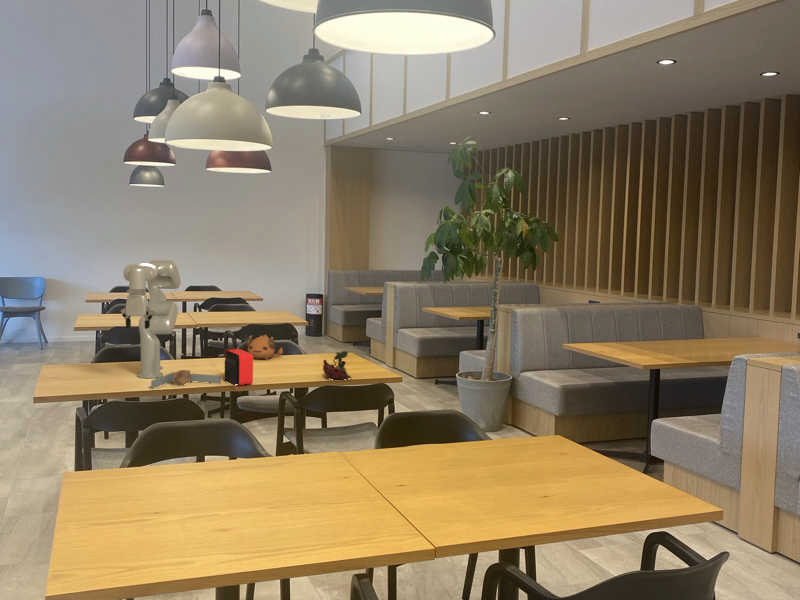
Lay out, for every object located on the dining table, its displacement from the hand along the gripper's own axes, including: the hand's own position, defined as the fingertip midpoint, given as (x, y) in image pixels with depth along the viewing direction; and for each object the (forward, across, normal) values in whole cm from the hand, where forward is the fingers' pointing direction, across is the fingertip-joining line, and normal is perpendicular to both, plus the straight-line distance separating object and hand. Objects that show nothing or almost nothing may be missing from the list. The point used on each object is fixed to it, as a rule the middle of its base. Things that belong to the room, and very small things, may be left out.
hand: (137, 327), depth 371 cm
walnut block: (+28, +19, +9) cm, 35 cm away
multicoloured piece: (+29, +89, +44) cm, 103 cm away
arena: (+28, +23, +6) cm, 37 cm away
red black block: (+29, +43, +20) cm, 55 cm away
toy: (+29, +32, +89) cm, 99 cm away
